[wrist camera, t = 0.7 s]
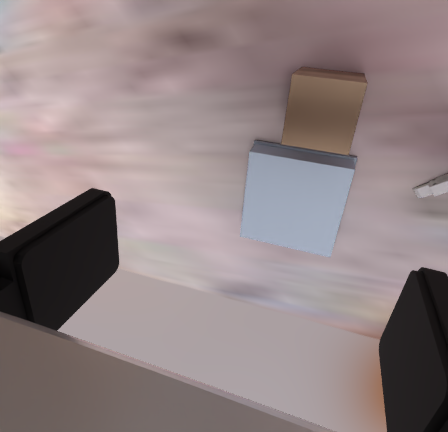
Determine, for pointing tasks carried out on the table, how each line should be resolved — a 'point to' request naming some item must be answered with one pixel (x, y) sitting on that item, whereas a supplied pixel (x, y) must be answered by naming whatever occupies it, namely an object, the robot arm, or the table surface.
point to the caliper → (433, 187)
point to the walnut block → (323, 109)
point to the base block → (295, 196)
